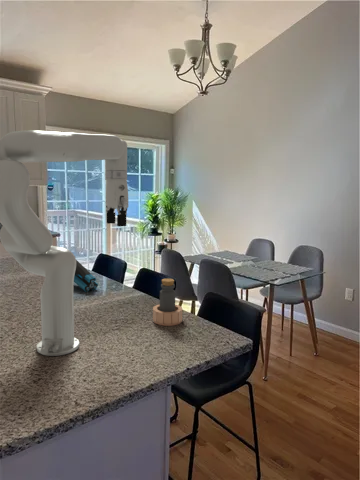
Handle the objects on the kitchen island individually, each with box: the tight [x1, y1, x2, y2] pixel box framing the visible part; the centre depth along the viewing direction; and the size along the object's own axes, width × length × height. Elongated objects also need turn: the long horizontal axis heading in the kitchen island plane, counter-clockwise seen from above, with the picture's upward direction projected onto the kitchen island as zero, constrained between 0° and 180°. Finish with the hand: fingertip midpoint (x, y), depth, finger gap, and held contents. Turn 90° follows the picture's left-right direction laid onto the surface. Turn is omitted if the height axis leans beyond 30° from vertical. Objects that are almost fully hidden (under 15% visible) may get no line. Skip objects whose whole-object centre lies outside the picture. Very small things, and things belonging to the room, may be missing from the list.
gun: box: [74, 259, 99, 293], centre depth 184 cm, size 8×26×15 cm, turn 47°
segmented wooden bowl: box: [152, 303, 183, 327], centre depth 140 cm, size 11×11×5 cm
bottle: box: [159, 278, 176, 312], centre depth 139 cm, size 6×6×15 cm
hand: (116, 224), depth 132 cm, fingers open, 9 cm apart
